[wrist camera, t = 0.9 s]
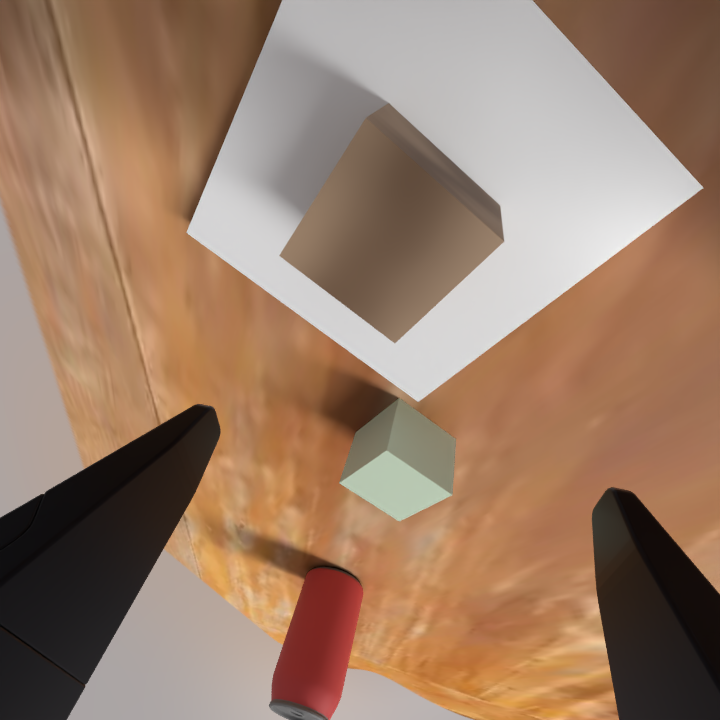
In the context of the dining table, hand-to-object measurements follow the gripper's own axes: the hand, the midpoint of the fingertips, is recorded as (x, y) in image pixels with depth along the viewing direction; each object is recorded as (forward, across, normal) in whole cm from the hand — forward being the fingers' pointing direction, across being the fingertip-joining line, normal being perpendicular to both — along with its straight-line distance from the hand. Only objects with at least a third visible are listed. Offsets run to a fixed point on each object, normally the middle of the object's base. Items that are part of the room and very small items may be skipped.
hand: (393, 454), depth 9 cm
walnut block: (+12, +2, -1) cm, 12 cm away
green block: (+13, 0, +14) cm, 19 cm away
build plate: (+13, +2, -1) cm, 13 cm away
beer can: (+13, +6, +40) cm, 42 cm away
